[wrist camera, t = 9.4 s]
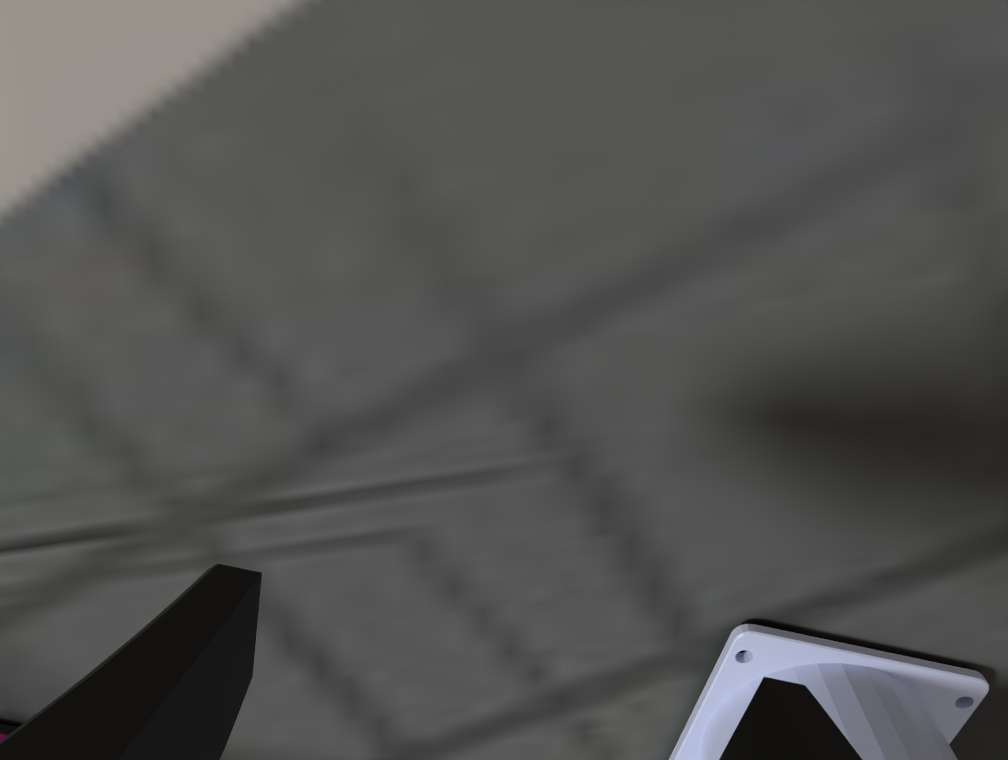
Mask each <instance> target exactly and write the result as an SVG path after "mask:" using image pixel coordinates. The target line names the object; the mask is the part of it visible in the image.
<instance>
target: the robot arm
mask: <svg viewBox="0 0 1008 760" xmlns="http://www.w3.org/2000/svg"><path fill="white" fill-rule="evenodd" d="M261 575H262V573H260V572H255V571H250V570H245V569H241V568H236V567H231V566H226V565H221V564H217V565H215V566H213V567H211V568H209V569H208V570H207V571H206V572H205V573H204V574H203V575H202V576H201V577H200V578H199V579H198V580H197V581H195V582H194V583H193V584H192V585H191V586H190V587H189V588H188V589H187V590H186V591H185V592H183V593H182V594H181V595H180V596H179V597H178V598H177V599H176V600H175V601H174V602H172V603H171V604H170V605H169V606H168V607H167V608H166V609H165V610H164V611H162V612H161V613H160V614H159V615H158V616H157V617H156V618H154V619H153V620H152V621H151V622H150V623H149V624H147V625H146V626H145V627H144V628H143V629H142V630H141V631H139V632H138V633H137V634H136V635H135V636H134V637H132V638H131V639H130V640H129V641H128V642H126V643H125V644H124V645H123V646H122V647H120V648H119V649H118V650H117V651H115V652H114V653H113V654H112V655H111V656H109V657H108V658H107V659H106V660H105V661H103V662H102V663H101V664H100V665H98V666H97V667H96V668H95V669H94V670H92V671H91V672H90V673H89V674H88V675H86V676H85V677H84V678H83V679H81V680H80V681H79V682H78V683H76V684H75V685H74V686H73V687H71V688H70V689H69V690H67V691H66V692H65V693H63V694H62V695H61V696H59V697H58V698H57V699H56V700H54V701H53V702H52V703H50V704H49V705H48V706H46V707H45V708H44V709H42V710H41V711H40V712H38V713H37V714H36V715H34V716H33V717H32V718H30V719H29V720H28V721H26V722H25V723H24V724H22V725H21V726H20V727H18V728H17V729H16V730H14V731H13V732H12V733H10V734H9V735H8V736H6V737H5V738H4V739H2V740H1V741H0V760H219V759H220V757H221V755H222V753H223V751H224V749H225V746H226V744H227V741H228V738H229V736H230V733H231V731H232V728H233V726H234V723H235V721H236V718H237V716H238V713H239V710H240V708H241V705H242V702H243V700H244V697H245V695H246V692H247V689H248V687H249V684H250V681H251V679H252V675H253V664H254V653H255V642H256V631H257V620H258V609H259V597H260V586H261ZM742 650H747V651H746V652H743V653H738V652H740V651H742ZM988 691H989V684H988V682H987V681H986V679H985V678H984V677H983V675H982V674H981V673H980V672H977V671H974V670H970V669H965V668H960V667H955V666H951V665H946V664H941V663H936V662H932V661H927V660H922V659H917V658H912V657H908V656H903V655H898V654H893V653H889V652H884V651H879V650H874V649H870V648H865V647H860V646H855V645H851V644H846V643H841V642H836V641H832V640H827V639H822V638H817V637H812V636H808V635H803V634H798V633H793V632H789V631H784V630H779V629H774V628H770V627H765V626H760V625H755V624H743V625H740V626H738V627H736V628H735V629H734V630H733V631H732V633H731V635H730V637H729V639H728V641H727V643H726V645H725V647H724V649H723V651H722V653H721V655H720V657H719V659H718V661H717V663H716V665H715V667H714V669H713V671H712V673H711V675H710V677H709V679H708V681H707V683H706V685H705V687H704V689H703V691H702V693H701V695H700V697H699V699H698V702H697V704H696V706H695V708H694V710H693V712H692V714H691V716H690V718H689V720H688V722H687V724H686V726H685V728H684V730H683V732H682V734H681V736H680V738H679V740H678V742H677V744H676V746H675V748H674V750H673V752H672V754H671V756H670V758H669V760H957V758H956V756H955V754H954V752H953V751H952V749H951V747H950V745H949V744H950V743H951V741H952V740H953V739H954V737H955V736H956V735H957V733H958V732H959V731H960V729H961V728H962V727H963V725H964V724H965V723H966V721H967V720H968V719H969V717H970V716H971V715H972V713H973V712H974V711H975V709H976V708H977V707H978V705H979V704H980V703H981V701H982V700H983V699H984V697H985V696H986V695H987V693H988Z"/></svg>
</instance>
